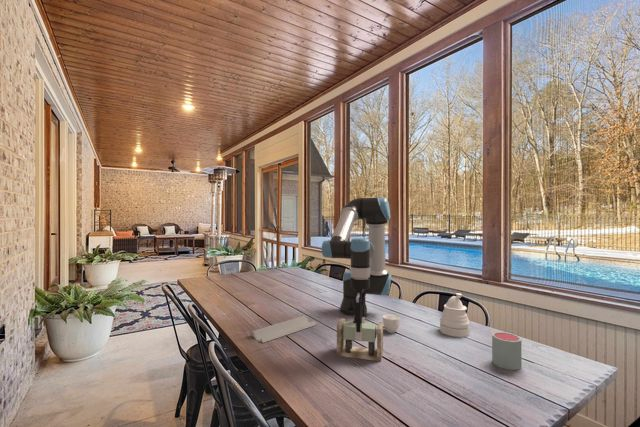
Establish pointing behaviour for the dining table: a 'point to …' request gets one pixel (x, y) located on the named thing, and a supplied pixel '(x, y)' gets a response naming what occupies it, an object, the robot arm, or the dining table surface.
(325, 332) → the dining table surface
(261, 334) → the crown molding
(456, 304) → the honey pot
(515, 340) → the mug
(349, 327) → the pale green block
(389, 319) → the cup
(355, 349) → the frame
